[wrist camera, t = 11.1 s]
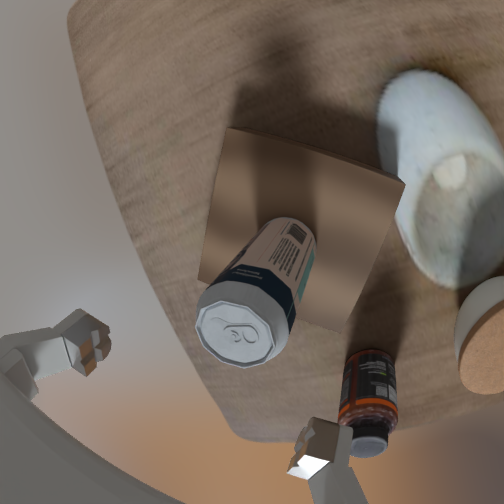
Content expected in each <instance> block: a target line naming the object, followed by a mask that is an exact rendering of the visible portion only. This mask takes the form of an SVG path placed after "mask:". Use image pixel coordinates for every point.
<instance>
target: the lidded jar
mask: <svg viewBox="0 0 504 504" xmlns="http://www.w3.org/2000/svg"><path fill="white" fill-rule="evenodd" d="M454 347H455V355H456V359H457V363H458V371H459V374H460V378H461V381H462V383H463V384H464V386H465V387H466V388H467V389H469V390H471V391H472V392H475V393H478V394H494V393H499V392H502V391H504V276H498V277H494V278H491V279H488V280H486V281H484V282H483V283H481V284H480V285H478V286H477V287H476V288H475V289H474V290H473V291H472V292H471V293H470V294H469V295H468V296H467V297H466V299H465V301H464V302H463V304H462V306H461V308H460V310H459V312H458V315H457V318H456V322H455V327H454Z"/></svg>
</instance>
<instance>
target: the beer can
mask: <svg viewBox="0 0 504 504" xmlns="http://www.w3.org/2000/svg"><path fill="white" fill-rule="evenodd" d="M316 251H317V248H316V241H315V238H314V235H313V233H312V232H311V230H310V229H309V228H308V227H307V226H306V225H304V224H303V223H302V222H300V221H298V220H296V219H293V218H288V217H281V218H276V219H273V220H271V221H269V222H267V223H266V224H265V225H264V226H263V227H262V228H261V229H260V230H259V231H258V232H257V233H256V235H255V236H254V237H253V238H252V239H251V240H250V241H249V242H248V243H247V244H246V246H245V247H244V248H243V249H242V250H241V251H240V252H239V253H238V254H237V256H236V257H235V258H234V259H233V260H232V261H231V262H230V263H229V264H228V265H227V267H226V268H225V269H224V270H223V271H222V272H221V273H220V274H219V275H218V277H217V278H216V279H215V280H214V281H213V282H212V283H211V284H210V285H209V287H208V288H207V289H206V290H205V291H204V292H203V294H202V295H201V296H200V299H199V301H198V304H197V308H196V325H195V328H196V331H197V333H198V336H199V338H200V340H201V343H202V345H203V347H204V348H205V349H206V350H208V351H209V352H210V353H211V354H212V355H214V356H215V357H216V358H217V359H218V360H220V361H221V362H223V363H227V364H230V365H234V366H238V367H241V368H248V367H252V366H256V365H260V364H264V363H265V362H266V361H268V360H269V359H271V358H273V357H275V356H276V355H277V354H279V353H280V352H281V351H282V349H283V348H284V346H285V345H286V343H287V340H288V337H289V334H290V331H291V328H292V325H293V323H294V320H295V317H296V314H297V311H298V308H299V305H300V302H301V299H302V296H303V293H304V290H305V287H306V284H307V281H308V278H309V274H310V271H311V268H312V265H313V262H314V259H315V256H316Z"/></svg>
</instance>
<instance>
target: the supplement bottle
mask: <svg viewBox="0 0 504 504" xmlns="http://www.w3.org/2000/svg"><path fill="white" fill-rule="evenodd" d="M397 411H398V409H397V391H396V376H395V366H394V362H393V360H392V358H391V357H390V356H389V355H388V354H387V353H385V352H383V351H380V350H372V349H369V350H364V351H360V352H358V353H356V354H354V355H353V356H351V357H350V358H349V359H348V361H347V362H346V364H345V367H344V372H343V382H342V391H341V399H340V407H339V415H338V424H340V425H344V426H348V427H352V429H353V436H352V443H351V451H350V455H351V456H354V457H359V458H368V457H374V456H377V455H379V454H381V453H383V452H384V451H385V450H386V449H387V446H388V435H390V434H391V433H392V432H393V431H394V429H395V428H396V425H397V422H398V413H397Z"/></svg>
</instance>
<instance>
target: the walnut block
mask: <svg viewBox="0 0 504 504" xmlns="http://www.w3.org/2000/svg"><path fill="white" fill-rule="evenodd" d="M405 185H406V184H405V183H404V182H403V181H402V180H401V179H400V178H399V177H398V176H395V175H393V174H390V173H388V172H385V171H383V170H380V169H377V168H375V167H372V166H369V165H367V164H364V163H361V162H358V161H356V160H353V159H350V158H347V157H344V156H341V155H338V154H335V153H332V152H329V151H326V150H323V149H320V148H317V147H314V146H310V145H307V144H304V143H300V142H297V141H294V140H290V139H287V138H283V137H279V136H276V135H272V134H268V133H264V132H261V131H257V130H253V129H249V128H244V127H233V128H227V129H226V133H225V138H224V142H223V147H222V152H221V156H220V161H219V166H218V171H217V176H216V181H215V186H214V191H213V196H212V201H211V206H210V211H209V217H208V222H207V227H206V233H205V239H204V244H203V250H202V256H201V262H200V268H199V274H198V280H200V281H202V282H205V283H207V284H211V283H212V282H213V281H214V280H215V279H216V278H217V277H218V275H219V274H220V273H221V272H222V271H223V270H224V269H225V268H226V267H227V265H228V264H229V263H230V262H231V261H232V260H233V259H234V258H235V257H236V256H237V254H238V253H239V252H240V251H241V250H242V249H243V248H244V247H245V246H246V244H247V243H248V242H249V241H250V240H251V239H252V238H253V237H254V236H255V235H256V233H257V232H258V231H259V230H260V229H261V228H262V227H263V226H264V225H265V224H266V223H267V222H269V221H271V220H273V219H276V218H281V217H288V218H293V219H296V220H298V221H300V222H302V223H303V224H304V225H306V226H307V227H308V228H309V229H310V230H311V232H312V233H313V235H314V238H315V241H316V248H317V251H316V256H315V259H314V262H313V265H312V268H311V271H310V274H309V278H308V281H307V284H306V287H305V290H304V293H303V296H302V299H301V302H300V305H299V308H298V311H297V314H296V317H295V318H298V319H301V320H304V321H306V322H309V323H312V324H315V325H318V326H320V327H323V328H326V329H329V330H332V331H335V332H337V333H341V331H342V329H343V327H344V326H345V324H346V322H347V320H348V318H349V316H350V314H351V312H352V310H353V308H354V306H355V304H356V302H357V300H358V298H359V296H360V294H361V291H362V289H363V287H364V285H365V283H366V281H367V279H368V276H369V274H370V272H371V270H372V268H373V265H374V263H375V261H376V259H377V256H378V254H379V252H380V249H381V247H382V245H383V242H384V240H385V237H386V235H387V233H388V230H389V228H390V225H391V223H392V220H393V218H394V215H395V212H396V210H397V207H398V205H399V202H400V199H401V196H402V194H403V191H404V188H405Z"/></svg>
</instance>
